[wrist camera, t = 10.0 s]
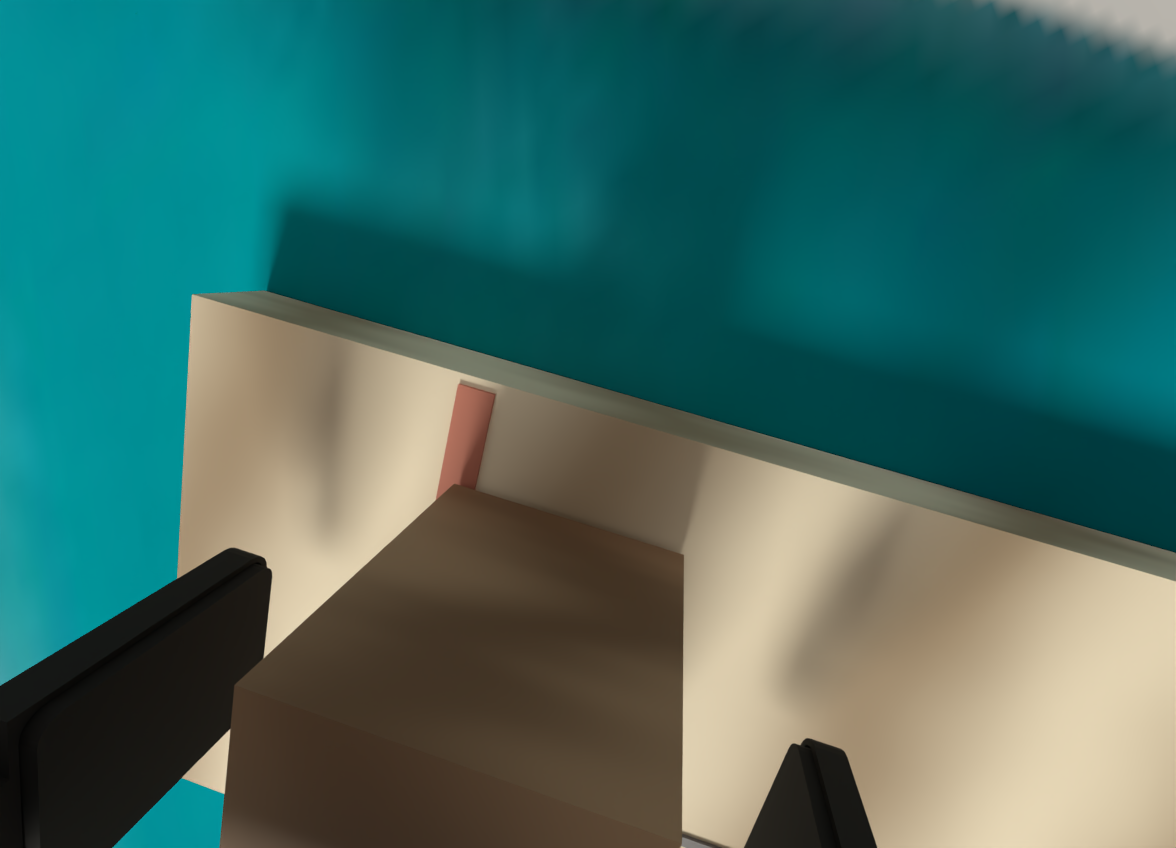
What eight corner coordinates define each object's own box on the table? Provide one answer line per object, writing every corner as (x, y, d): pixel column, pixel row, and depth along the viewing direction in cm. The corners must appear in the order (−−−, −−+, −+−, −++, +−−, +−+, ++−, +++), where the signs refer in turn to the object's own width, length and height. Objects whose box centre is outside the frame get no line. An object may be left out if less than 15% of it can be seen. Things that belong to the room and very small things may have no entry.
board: (1799, 732, 10) (2064, 842, 8) (1372, 1125, 14) (1488, 1270, 12) (264, 290, 13) (188, 294, 11) (227, 713, 16) (164, 775, 14)
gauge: (684, 554, 10) (682, 844, 5) (561, 914, 13) (477, 1344, 8) (453, 483, 11) (234, 685, 6) (380, 847, 13) (186, 1215, 8)
